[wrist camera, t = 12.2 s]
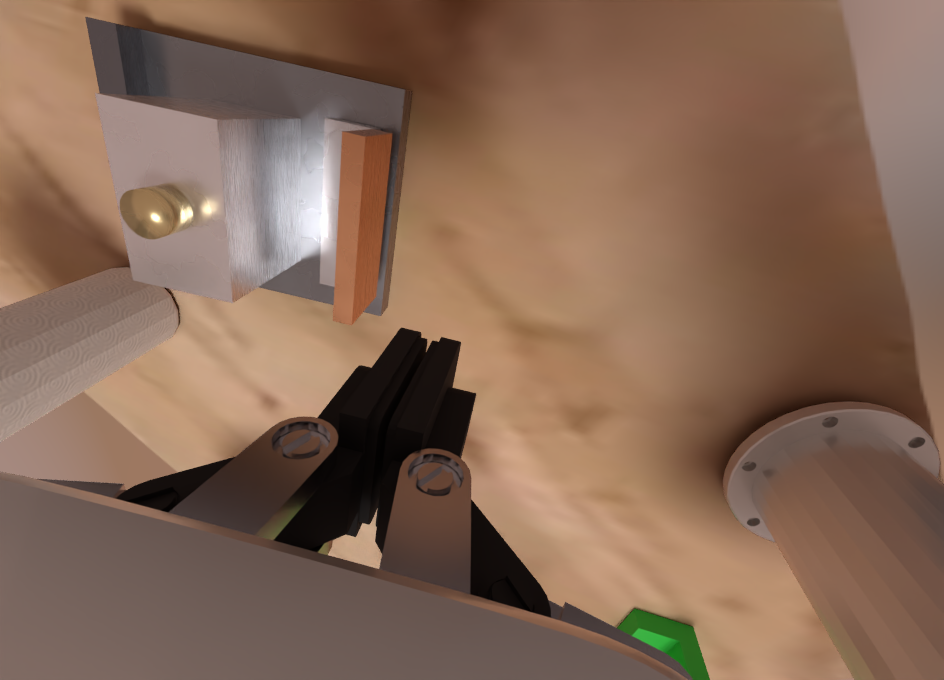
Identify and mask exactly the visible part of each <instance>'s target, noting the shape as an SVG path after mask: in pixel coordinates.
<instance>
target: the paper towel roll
mask: <svg viewBox="0 0 944 680" xmlns="http://www.w3.org/2000/svg"><path fill="white" fill-rule="evenodd" d="M178 325H179V318H178V309H177V307H176V305H175V303H174V301H173V299H172V296H171V295H170V294H169V293H168V292H167V290H166V289H165V288H164V287H160V286H156V285H151V284H147V283H142V282H138V281H134V280H133V277H132V272H131V268H130V267H121V268H110V269H108V270H105V271H102V272H99V273H97V274H94V275H91V276H88V277H85V278H83V279H80V280H77V281H74V282H72V283H69V284H66V285H63V286H61V287H58V288H55V289H52V290H49V291H47V292H44V293H41V294H38V295H36V296H33V297H30V298H27V299H25V300H22V301H19V302H16V303H13V304H11V305H8V306H5V307H2V308H0V442H1V441H3V440H5V439H6V438H8V437H10V436H11V435H13V434H15V433H16V432H18V431H19V430H21V429H23V428H24V427H26V426H28V425H29V424H31V423H32V422H34V421H36V420H37V419H39V418H41V417H42V416H44V415H46V414H47V413H49V412H50V411H52V410H53V409H55V408H57V407H58V406H60V405H62V404H63V403H65V402H67V401H68V400H70V399H71V398H73V397H75V396H76V395H78V394H80V393H81V392H83V391H85V390H86V389H88V388H90V387H91V386H93V385H94V384H96V383H98V382H99V381H101V380H103V379H104V378H106V377H107V376H109V375H111V374H112V373H114V372H116V371H117V370H119V369H120V368H122V367H124V366H125V365H127V364H129V363H130V362H132V361H134V360H135V359H137V358H138V357H140V356H142V355H143V354H145V353H147V352H148V351H150V350H151V349H153V348H155V347H156V346H158V345H160V344H161V343H163V342H164V341H166V340H168V339H169V338H171V337H173V335H174V333H175V331H176V329H177V327H178Z"/></svg>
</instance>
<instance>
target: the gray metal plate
mask: <svg viewBox="0 0 944 680" xmlns="http://www.w3.org/2000/svg"><path fill="white" fill-rule="evenodd" d="M86 23H87V28H88V33H89V38H90V44H91V49H92V54H93V60H94V65H95V70H96V75H97V81H98V86H99V91H100V93H102V94H121V95H139V96H158V97H177V98H195V99H212V100H216V101H221V102H226V103H230V104H235V105H239V106H244V107H249V108H253V109H258V110H262V111H267V112H272V113H276V114H281V115H285V116H290V117H295V118H299V119H301V261H299V262H297V263H296V264H294V265H293V266H291V267H289V268H288V269H286V270H285V271H283V272H281V273H280V274H278V275H277V276H275V277H273V278H272V279H270V280H269V281H267V282H265V283H264V284H262V285H261V286H259V287H260V288H264V289H268V290H273V291H277V292H281V293H285V294H290V295H294V296H298V297H302V298H306V299H311V300H315V301H319V302H323V303H328V304H332V305H334V288H335V287H333V286H329V285H324V284H320V255H321V222H322V189H323V157H324V124H325V118H338V119H343V120H347V121H351V122H356V123H360V124H364V125H369V126H373V127H378V128H381V131H384V132H389V133H393V134H392V144H391V154H390V164H389V174H388V184H387V194H386V204H385V214H384V224H383V234H382V244H381V254H380V264H379V274H378V284H377V294H376V298H375V299H374V300H373V301H372V302H371V303H370V305H369V306H368V307H367V308H366V309H365V310H364V312H366V313H370V314H374V315H378V316H381V315H382V314H383V312H384V311H385V310H386V308H387V307H388V299H389V290H390V281H391V272H392V264H393V255H394V246H395V238H396V229H397V220H398V212H399V203H400V194H401V185H402V177H403V168H404V159H405V151H406V142H407V133H408V125H409V116H410V107H411V98H412V91H409V90H405V89H401V88H396V87H392V86H387V85H383V84H379V83H374V82H370V81H366V80H361V79H357V78H352V77H348V76H344V75H339V74H335V73H330V72H326V71H322V70H317V69H313V68H309V67H304V66H300V65H295V64H291V63H287V62H282V61H278V60H273V59H269V58H265V57H260V56H256V55H252V54H247V53H243V52H238V51H234V50H230V49H225V48H221V47H216V46H212V45H208V44H203V43H199V42H195V41H190V40H186V39H181V38H177V37H173V36H168V35H164V34H159V33H155V32H151V31H146V30H142V29H138V28H133V27H129V26H124V25H120V24H115V23H111V22H106V21H102V20H97V19H93V18H88V17H86Z"/></svg>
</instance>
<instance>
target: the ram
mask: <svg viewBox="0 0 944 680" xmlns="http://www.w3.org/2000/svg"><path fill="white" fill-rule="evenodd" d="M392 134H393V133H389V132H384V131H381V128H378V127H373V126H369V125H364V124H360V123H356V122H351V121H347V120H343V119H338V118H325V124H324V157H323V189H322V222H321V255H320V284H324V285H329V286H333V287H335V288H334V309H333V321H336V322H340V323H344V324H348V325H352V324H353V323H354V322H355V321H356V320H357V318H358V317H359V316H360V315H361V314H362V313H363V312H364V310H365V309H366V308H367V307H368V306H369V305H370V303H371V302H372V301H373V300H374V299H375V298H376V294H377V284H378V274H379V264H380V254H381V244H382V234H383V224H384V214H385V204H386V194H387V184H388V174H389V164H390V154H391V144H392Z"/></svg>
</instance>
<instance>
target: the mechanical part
mask: <svg viewBox="0 0 944 680" xmlns="http://www.w3.org/2000/svg"><path fill="white" fill-rule="evenodd" d="M617 629H619V630H621V631H623V632H625V633H627V634H629V635H631V636H633V637H635V638H637V639H639V640H641V641H643V642H645V643H647V644H649V645H651V646H653V647H655V648H657V649H659V650H661V651H663V652H665V653H666V654H667V655H669V656H670V657H672V658H673V659H675V660H676V661H677V662H679V663H680V664H681V665H682V667H683V668H684V669H685V670H686V671H687V672H688V673H689V675H690V676H691V677H692V679H693V680H710V678H709V675H708V672H707V669H706V666H705V663H704V660H703V656H702V653H701V650H700V647H699V644H698V641H697V638H696V634H695V631H694V628H693V627H691V626H688V625H685V624H682V623H679V622H676V621H673V620H670V619H666V618H663V617H660V616H657V615H654V614H651V613H648V612H645V611H641V610H638V609H635V608H634V610H633V611H632V612H631V613H630V614H629V615H628V616H627V617H626V619H625V620H624V621H623V622H622V623H621V624H620V625H619V626H618V627H617Z"/></svg>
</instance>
